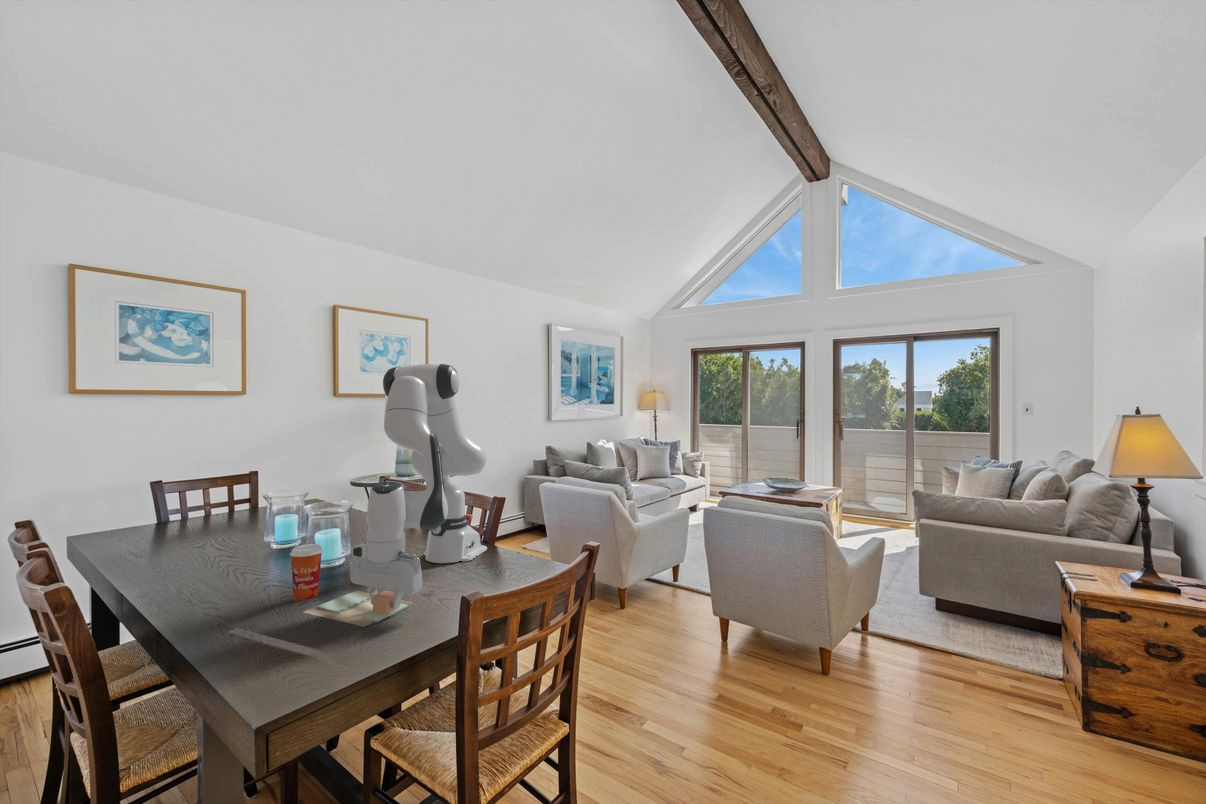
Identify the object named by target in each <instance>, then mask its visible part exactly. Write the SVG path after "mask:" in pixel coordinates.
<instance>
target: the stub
mask: <svg viewBox="0 0 1206 804" xmlns="http://www.w3.org/2000/svg"><path fill="white" fill-rule="evenodd" d="M395 596H396V595H394V591H390V590H383V591H381V592H379V593H378V594H376V595H374V596H373V611H372V612H370V613H368V614H365V615H363V616H361V619H366V620H370V621H374V622H373V623H379V622H380V621H382V620H385V619H386V618H389V617H390V616H392V615H395V614H398V613H399V612H401V611H403V610H405V609H407V608H409V605H406V604H401V603H400V607H399V608H397V609H393V608H390V606H391V605H390V601H393V600H394V598H395Z"/></svg>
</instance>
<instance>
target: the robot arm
mask: <svg viewBox="0 0 1206 804" xmlns="http://www.w3.org/2000/svg"><path fill="white" fill-rule="evenodd" d="M382 380H383V381H382V387H383V391H384V394H385V395H386V396H387V399H386V405H385V410H384V421H383V422H384V423H383V425H384V432H385V434H386V437H387V438H388V439H389V440H390V441H391V442H392V443H394V444H396V445H397V446H399V447H402V448H404V449H407V450H409V451H412V453H411V455H410V462H411V466H412V468H413V469H414V471H415V472H417V473H418V474H419V475H420V476H421V477H422V478H423V480H424V482H425V483H426V489H425V490H404V489H405V488H404V486H403V484H402V483H400V482H397V481H384V482H379V483H376V484H375V485H373V486H372V487H371V488H370V490H369V495H368V501H367V509H366V512H367V513H366V524H367V527H368V531H367V535H366V542H363V543H360V544H358V545H354V546H352V547H351V548H350V555H351V558H350V562H349V579H350V581H351V583H352V584H355V585H361V586H365V587H366V591H367V593H369V595H370V597H371V604H373V596H374V595H376V594H378V590H377V589H380V590H383V591H385V590H386V591H391V592H394V595H396V596H395V598H394V600H393V601H390V605H391V606H390V608H393V609H397V608H399V607H400V600H403V596H404V595H413V594H416V593H418V592H420V590H422V589H423V574H422V567H421V559H420V558H419V557H418V556H417V554H414V553H409V552H406V532H405V529H423V530H429V531H428V534H427V542H426V548H425V549H426V550H425V551H424V553H423V555H424V557H425V558H424V559H425V561H426V562H429V563H435V564H450V563H451V564H452V563H458V562H459V561H462V562H469V561H470V560H471V561H472V560H474V559H475V558H477V557H478V556H480V555H482V554H483V553H484V552H486V551H487V550H488V547H487V546H486V545H484V544H481V536H480V533H479V532H478V531H476V530H475V529H474V528H473V527H471V526H470V525H469V522H468V521H472V520H473V514H471V513H470V514H469V513H467V514H465V512H466V507H465V506H466V494H465V492H464V490H463V489H462V488H461V487H459V486H458V485H456V484H455V483H454V482H453V480H452V479H451V476H460V477H461V476H462V477H466V476H467V477H468V476H474V475H478V474H480V473H482V471H484V468H485V466H486V463H487V455H486V452H485V450H484V448H483V447H482V446H480V445H479V444H477V443H476V442H474V441H473V440H472V439H471V438H470V437H469V436H468V435H467V434H466V432H465V431H464V429H463V428H462V426H461V423H460V420H459V416H458V411H457V407H456V402H455V397H454V396H455V395H456V394H457V393H458V391H459V386H460V378H459V374H458V371H457V369H456V368H454V366H452V365H450V364H445V363H444V364H443V363H441V364H433V363H432V364H431V363H428V364H427V363H420V364H415V365H414V364H413V365H407V366H394V367H392V368H389V369H388V370H387V371H386V372H385V374H384V375H383V379H382ZM476 556H477V557H476ZM473 558H474V559H473ZM459 563H460V562H459Z"/></svg>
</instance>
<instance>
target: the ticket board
mask: <svg viewBox="0 0 1206 804" xmlns="http://www.w3.org/2000/svg"><path fill="white" fill-rule="evenodd" d="M400 603H401V604H406V605H408V606H410V605H411V604H413V603H414V602H413V601H409V600H403V599H401V600H400ZM372 611H373V604H371V597H370V595H369V593H368V592H364V591H359V590H355V591H351V592H349V593H347V594H343V595H342V596H339V597H336V598H334V599H331V600H329V601H327V602H323V603H321V604H319V605H317V606H314V607H312V608H310V609H307V610H305V611H303V613H304V614H309V615H313V616H317V617H320V618H321V617H322V618H324V619H325V618H326V619H329V620H333V621H338V622H342V623H345V624H349V625H354V626H359V627H367V626H368V625H371V624H373V623H375V622H374V621H370V620H366V619H361V616H363V615H365V614H368V613H370V612H372Z"/></svg>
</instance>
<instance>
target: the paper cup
mask: <svg viewBox="0 0 1206 804" xmlns="http://www.w3.org/2000/svg"><path fill="white" fill-rule="evenodd" d="M323 552H324V549H323V547H322V546H321V545H320V544H318V543H315V544H314V543H308V544H301V545H298V546H294V547H293V548H292V549H291V552H290V553H289V555H290V559H291V560H290V561H291V575H292V576H291V577H292V579H291V580H292V594H293V602H297V601H301V600H309V599H313V598H316V597H317V596H318V595H319V591H320V580H321V568H322V567H321V565H322V553H323Z"/></svg>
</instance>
